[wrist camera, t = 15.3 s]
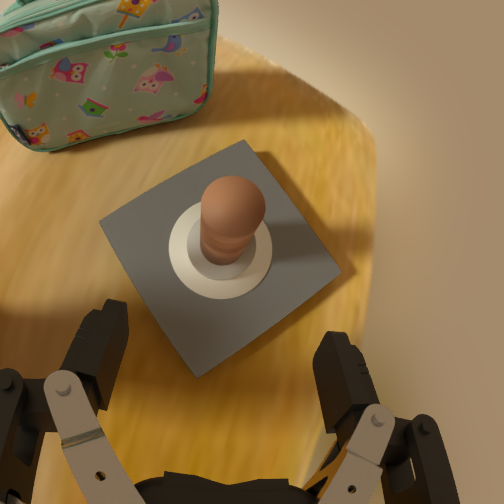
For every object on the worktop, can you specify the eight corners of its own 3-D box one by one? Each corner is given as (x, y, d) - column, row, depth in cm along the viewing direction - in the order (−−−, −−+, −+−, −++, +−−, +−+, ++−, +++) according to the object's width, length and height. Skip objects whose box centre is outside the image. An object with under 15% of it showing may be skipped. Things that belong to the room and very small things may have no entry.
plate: (106, 230, 31) (98, 221, 28) (240, 152, 36) (244, 138, 33) (196, 373, 29) (196, 379, 26) (330, 276, 34) (342, 271, 31)
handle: (174, 237, 29) (162, 190, 18) (229, 203, 30) (246, 144, 20) (211, 293, 28) (219, 277, 18) (266, 256, 30) (303, 220, 19)
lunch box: (20, 170, 30) (-64, 66, 10) (28, 112, 32) (-27, 9, 12) (213, 123, 36) (237, -26, 16) (200, 71, 38) (215, -59, 18)
